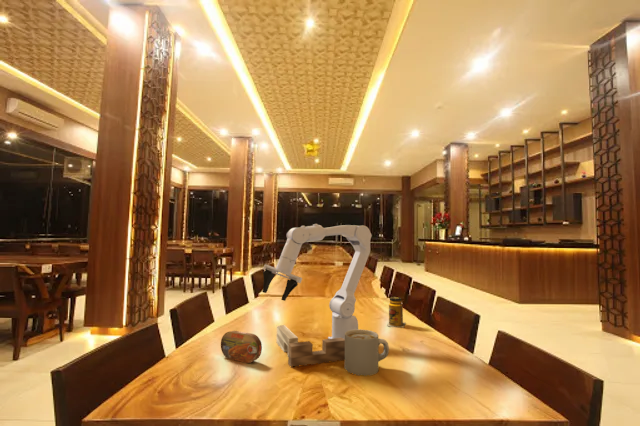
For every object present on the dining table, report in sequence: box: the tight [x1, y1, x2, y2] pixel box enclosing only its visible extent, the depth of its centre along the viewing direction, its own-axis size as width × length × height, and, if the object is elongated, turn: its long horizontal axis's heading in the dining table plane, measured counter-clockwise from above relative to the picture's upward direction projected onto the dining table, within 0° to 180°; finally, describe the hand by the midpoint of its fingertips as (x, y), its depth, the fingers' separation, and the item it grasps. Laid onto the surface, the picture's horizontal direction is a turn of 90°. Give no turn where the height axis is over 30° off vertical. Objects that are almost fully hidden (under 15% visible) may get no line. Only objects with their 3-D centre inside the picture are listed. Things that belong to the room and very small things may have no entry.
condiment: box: [386, 296, 406, 328], centre depth 145 cm, size 7×8×12 cm
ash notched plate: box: [275, 324, 299, 353], centre depth 112 cm, size 3×16×6 cm, turn 22°
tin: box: [220, 330, 263, 364], centre depth 102 cm, size 15×3×8 cm, turn 62°
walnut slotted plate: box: [287, 338, 345, 368], centre depth 101 cm, size 18×3×6 cm, turn 112°
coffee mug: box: [344, 328, 390, 377], centre depth 97 cm, size 13×10×10 cm
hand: (273, 296), depth 112 cm, fingers open, 7 cm apart
